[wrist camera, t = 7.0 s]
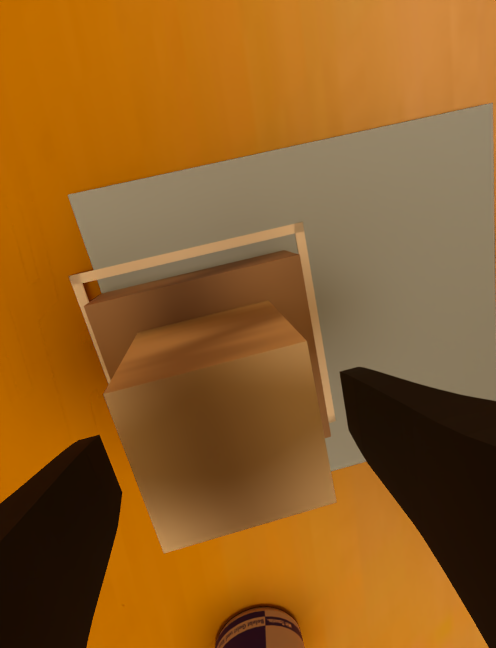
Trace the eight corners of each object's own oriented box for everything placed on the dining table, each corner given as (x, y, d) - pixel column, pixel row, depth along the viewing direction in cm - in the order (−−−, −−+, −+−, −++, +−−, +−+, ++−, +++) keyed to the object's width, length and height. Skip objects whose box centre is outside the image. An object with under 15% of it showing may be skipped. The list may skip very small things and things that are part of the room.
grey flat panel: (483, 106, 16) (494, 102, 15) (489, 419, 20) (498, 424, 20) (46, 201, 14) (40, 200, 14) (160, 513, 19) (159, 522, 18)
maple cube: (268, 300, 13) (306, 341, 9) (291, 413, 15) (336, 502, 10) (137, 332, 13) (102, 394, 8) (174, 445, 15) (163, 553, 10)
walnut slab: (284, 250, 16) (299, 254, 13) (313, 408, 18) (331, 436, 15) (101, 293, 15) (83, 306, 13) (156, 451, 17) (149, 486, 15)
